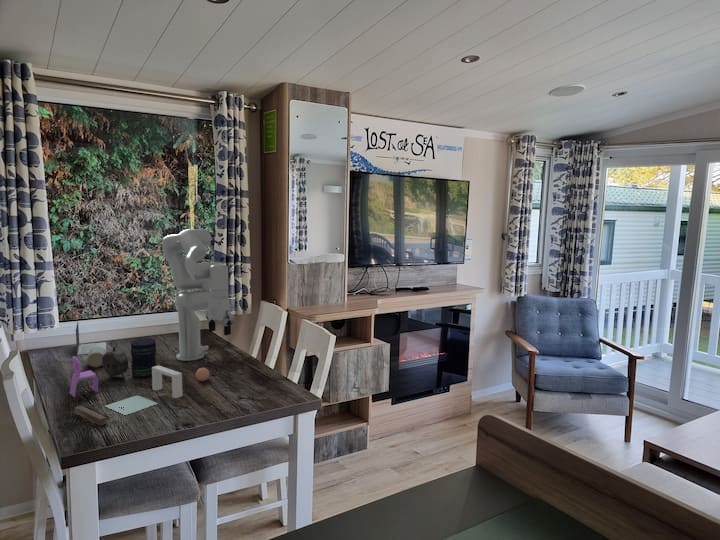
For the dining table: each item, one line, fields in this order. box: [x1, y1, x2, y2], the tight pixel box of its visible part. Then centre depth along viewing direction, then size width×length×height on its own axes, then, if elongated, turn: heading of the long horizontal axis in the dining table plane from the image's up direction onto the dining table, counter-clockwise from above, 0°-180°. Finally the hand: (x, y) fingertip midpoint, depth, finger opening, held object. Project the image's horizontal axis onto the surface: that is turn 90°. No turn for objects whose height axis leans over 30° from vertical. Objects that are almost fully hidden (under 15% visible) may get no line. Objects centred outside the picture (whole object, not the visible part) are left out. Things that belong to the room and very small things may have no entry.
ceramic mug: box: [86, 347, 108, 368], centre depth 226 cm, size 11×8×8 cm
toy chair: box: [68, 356, 99, 398], centre depth 194 cm, size 8×9×15 cm
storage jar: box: [130, 338, 158, 381], centre depth 214 cm, size 10×10×15 cm
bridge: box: [151, 364, 183, 399], centre depth 196 cm, size 3×14×9 cm, turn 56°
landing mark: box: [104, 394, 159, 416], centre depth 184 cm, size 13×13×1 cm
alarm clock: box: [102, 340, 129, 380], centre depth 210 cm, size 11×5×16 cm, turn 65°
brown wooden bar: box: [74, 405, 107, 426], centre depth 172 cm, size 2×16×2 cm, turn 56°
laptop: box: [75, 321, 107, 356], centre depth 249 cm, size 18×12×13 cm
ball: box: [195, 367, 210, 382], centre depth 210 cm, size 6×6×6 cm
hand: (219, 332), depth 216 cm, fingers open, 9 cm apart
